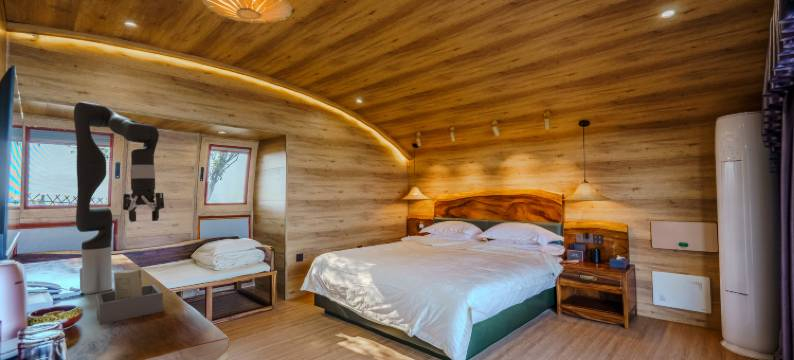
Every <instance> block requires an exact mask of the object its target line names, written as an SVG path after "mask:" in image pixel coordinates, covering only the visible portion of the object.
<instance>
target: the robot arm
mask: <svg viewBox="0 0 794 360" xmlns="http://www.w3.org/2000/svg"><path fill="white" fill-rule="evenodd" d="M73 122H74V131H75V139H76V140H75V141H76V180H77V186H76V187H77V195H76V197H77V198H76V199H77V200H76V210H75V224H76V228H77V231H79V232H81V233H87V232H97V234H96V235H94V236H93V237H91V238H89V239H87V240H86V239H85V241H84V240H83V241H82V243H81V265H82V266H81V268H80V269H79V291H80V290H81V291H82V292H83V293H82V294H84V295H86V294H87V295H88V294H89V295H90V294H98V293H104V292H109V291H110V290H113V277H112V276H113V275H112V273H113V272H112V271H113V270H112V267H113V265H112V239H113V238H112V237H113V212H112V210H111V208H109V207H90V205H91V200H92V198H93V196H94V194H95V192H96V191H97V189H98V188H99V187H100V186H101V184H102V183H103V182H104V180H105V178H106V176H107V159H106V156H105V155H104V153H103V151H102V150H101V149H100V147H99V146H98V145H97V143H96V142H95V141H94V138H93V135H92V133H91V127H95V128H109V129H110V130H111V131H112V132H113V133H115V134H116V135H119V136H122V137H123V138H124V139H125V140H127V141H128V142H132V143H138V144H139V143H141V144H143V146H142V147H141V148H137V149H133V150H131V153H130V159H131V163H130V165H131V166H130V167H131V168H130V190H131V193H123V197H122V201H123V202H122V210H124V211H127V212H128V220H129V222H131V223H134V222H137V211H136V210H137V209H138V208H139V207H140V206H146V205H147V207H149V208H150V209H151V221H152V222H158V221H159V219H160V210H162V209H165V199H164V193H163V192H155V190H156V169H155V151H156V148H157V146H158V142H159V139H160V133H159V130H158V128H157V127H156V126H154V125H152V124H146V123H145V124H143V123H139V122H137V121H136V120H134V119H131V118H128V117H126V116H123V115H120V114H118V113H116V112H115V111H114V110H112V109H111V108H110V107H107V106H106V105H103V104H99V103H98V104H97V103H92V102H87V101H79V102H77V103H76V104H75V105H74V109H73Z"/></svg>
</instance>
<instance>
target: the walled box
mask: <svg viewBox="0 0 794 360" xmlns="http://www.w3.org/2000/svg"><path fill="white" fill-rule="evenodd" d="M163 296H164V295H163V292H162V291H161V290H160V288H158V286H157V285H156V284H155V283H154V284H153V283H152V284H148V285H142V296H138V297H133V298H127V299H122V300H116V301H115V290H112V291H110V290H109V291H104V292H99V293H96V313H97V317H98V322H99V325H100V326H101V325H104V324H109V323H114V322H119V321H124V320H128V319H133V317H134V318H138V317H143V315H144V316H147V315H148V316H149V315H152V314H158V313H162V312H163V311H164V301H163V300H164V298H163Z"/></svg>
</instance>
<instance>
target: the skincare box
mask: <svg viewBox="0 0 794 360" xmlns="http://www.w3.org/2000/svg"><path fill="white" fill-rule="evenodd" d="M113 278H114V279H113V280H114V291H115V301H116V300H122V299H127V298H133V297H138V296H142V286H143V284H142V283H143V282H142V281H143V280H142V270H141V269H132V270H131V269H130V270H129V269H126V270H120V271H117V272H114V273H113Z"/></svg>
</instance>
